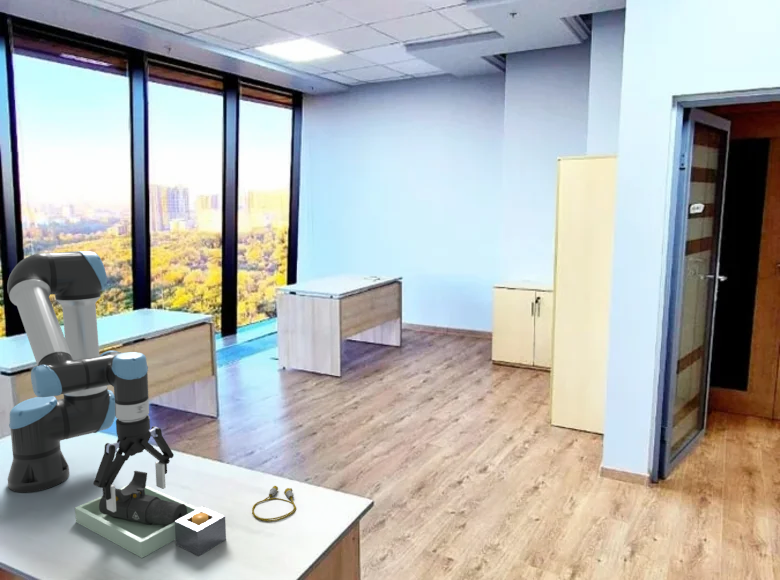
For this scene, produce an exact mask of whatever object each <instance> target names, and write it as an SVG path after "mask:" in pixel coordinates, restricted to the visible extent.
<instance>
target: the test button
mask: <svg viewBox="0 0 780 580" xmlns="http://www.w3.org/2000/svg"><path fill="white" fill-rule="evenodd" d="M206 521H208V514H207V513H197V514H195V515H193V516H192V523H194V524H196V525H198V526H199V525H201V524H203V523H204V522H206Z"/></svg>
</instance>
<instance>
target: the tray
mask: <svg viewBox="0 0 780 580" xmlns="http://www.w3.org/2000/svg"><path fill="white" fill-rule="evenodd" d="M127 485H128V484H127ZM127 485H124V486H122V487H120V488H119V489H121V490H123V489H124V488H125V487H126V486H127ZM145 495H150V496H156V497H158V498H159V499H161V500H165V501H169V502H175V503H180V504H185V505H186V507H187V514H189V513H191V512H193V511H195V510H197V509H199V508H200V507H197V506H195V505H193V504H190V503H189V502H188V503H187V502H186V501H183V500H180V499H178V498H177V497H175V496H171V495H169V494H167V493H165V492H163V491H160V490H157V489H156V488H153V487H151V486H148V485H146V487H145ZM102 496H103V495H101V496H99V497H97V498H95V499H92V500H89V501H87V502H85V503H83V504H80V505H78V506H76V507H74V514H75V523H77V524H79V525H80V526H82V527H85V528H86V529H88V530H90V531H91V532H93V533H95V534H97V535H99V536H101V537H102V538H104V539H106V540H108V541H110V542H112V543H114V544H115V545H117V546H119V547H121V548H123V549H124V550H126V551H128V552H130V553H132V554H134V555H135V556H138V557H140V558H141V559H143V558H144V557H146V556H148V555H150V554H152V553H154V552H155V551H157V550H159V549H161V548H162V547H164V546H166V545H169V544H170V543H171V542H173V541H176V536H175V522H173V523H172V524H170V525H168V526H163V525H159V524H154V523H153V524H152V525H147V524H142V523H137V522H132V521H127V520H123V519H118V518H113V517H111V516H109V515H106V514H102V513H101V512H100V510H99V503H100V500H101V497H102Z"/></svg>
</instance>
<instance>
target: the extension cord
mask: <svg viewBox="0 0 780 580" xmlns="http://www.w3.org/2000/svg"><path fill="white" fill-rule="evenodd" d="M278 490H279V487H278V486H277V485H274V486H272V488H271V489H270V490H269V493H268V496H267V497H266V498H264V499H263V500H260V501H257V502H256V503H254V504H253V505H252V509H251V513H252V514H251V515H252V516H253V517H254V518H255V519H257V520H259V521H263V522H277V521H279V520H283V519H286V518H288V517H289V516H292V515H294V514H295V512H296V511H297V505H296V504H295V503H294V502H295V501H294V500H293V498H294V492H293V488H292V487H291V488H290V487H287V488H285V489H284V492H283V493H284V495H285V496H286V498H287V499H288V500H286V499H283V498H279V497H274V496H276V495H277V493H278ZM271 500H272V501H273V500H279V501H283V502H287V503H290V504H291V505H293V509H292V510H291V511H290V512H288V513H286V514H283V515H280V516H276V517H271V518H270V517H268V518H266V517H265V518H264V517H260V516H258V515H257V514H255V509H256V506H258V505H259V504H261V503H263V502H266V501H267V502H268V501H271Z"/></svg>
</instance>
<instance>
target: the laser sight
mask: <svg viewBox="0 0 780 580" xmlns="http://www.w3.org/2000/svg"><path fill="white" fill-rule="evenodd" d="M147 480H148V472H144V471H139V470H134V471H133V476H132V479H131V481H129V483H128V484H127V486H126V485H125V486H126V487H125V488H124V489H123V490H121V489H120V488H116V487H115V496H116V512H112V511H110V510H108V509H107V504H106V499H104V498H103V495H101V496H102V497H101V496H100V497H101V500H100V503H99V510H100V512H101V513H102V514H106V515H109V516H111V517H113V518H118V519H123V520H127V521H132V522H137V523H142V524H147V525H152V524H153V523H154V524H159V525H163V526H168V525H170V524H172V523H173V522H175V521H176V520H178V519H180V518H181V517H183V516H185V515H187V507H186V505H185V504H180V503H175V502H169V501H165V500H161V499H159V498H158V497H156V496H150V495H145V487H146V486H147Z"/></svg>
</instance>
